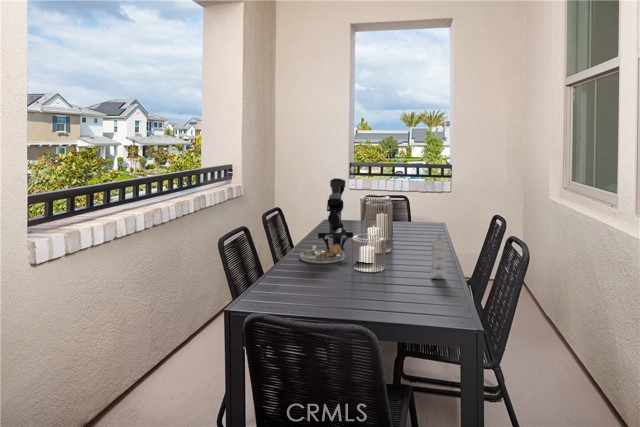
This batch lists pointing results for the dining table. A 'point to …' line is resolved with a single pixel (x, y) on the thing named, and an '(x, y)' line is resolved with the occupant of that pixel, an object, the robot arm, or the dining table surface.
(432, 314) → the dining table surface
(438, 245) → the plastic bottle
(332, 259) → the carrier
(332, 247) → the planet gear
